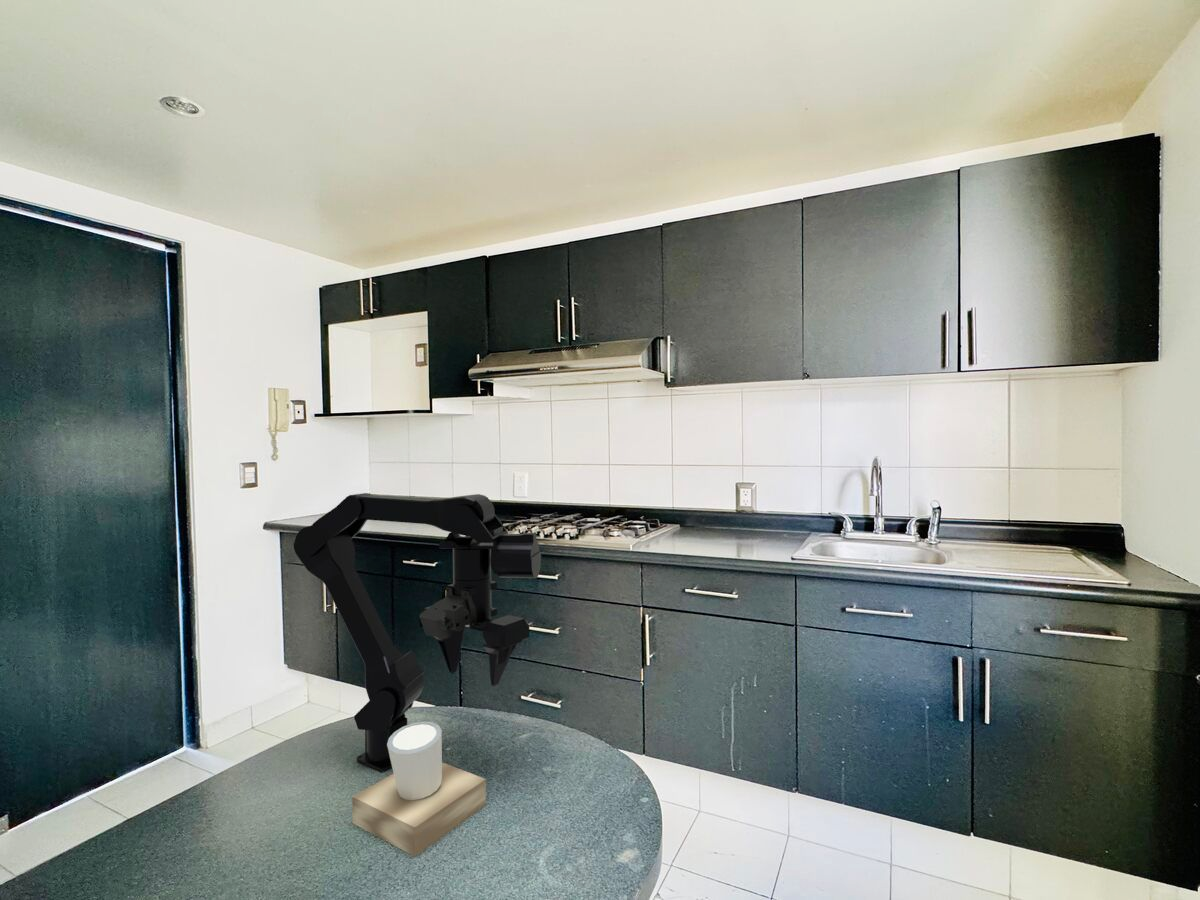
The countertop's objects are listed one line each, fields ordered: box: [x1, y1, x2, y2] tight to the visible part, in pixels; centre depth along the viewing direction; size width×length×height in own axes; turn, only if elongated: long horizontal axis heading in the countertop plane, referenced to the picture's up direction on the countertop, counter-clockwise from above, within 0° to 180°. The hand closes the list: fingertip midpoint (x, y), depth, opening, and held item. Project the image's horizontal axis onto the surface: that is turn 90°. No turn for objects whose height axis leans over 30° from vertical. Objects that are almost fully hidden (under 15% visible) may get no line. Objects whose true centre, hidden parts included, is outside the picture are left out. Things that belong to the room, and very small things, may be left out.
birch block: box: [351, 761, 487, 857], centre depth 78 cm, size 12×12×4 cm
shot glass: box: [387, 721, 443, 800], centre depth 78 cm, size 7×7×7 cm
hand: (473, 678), depth 91 cm, fingers open, 9 cm apart
